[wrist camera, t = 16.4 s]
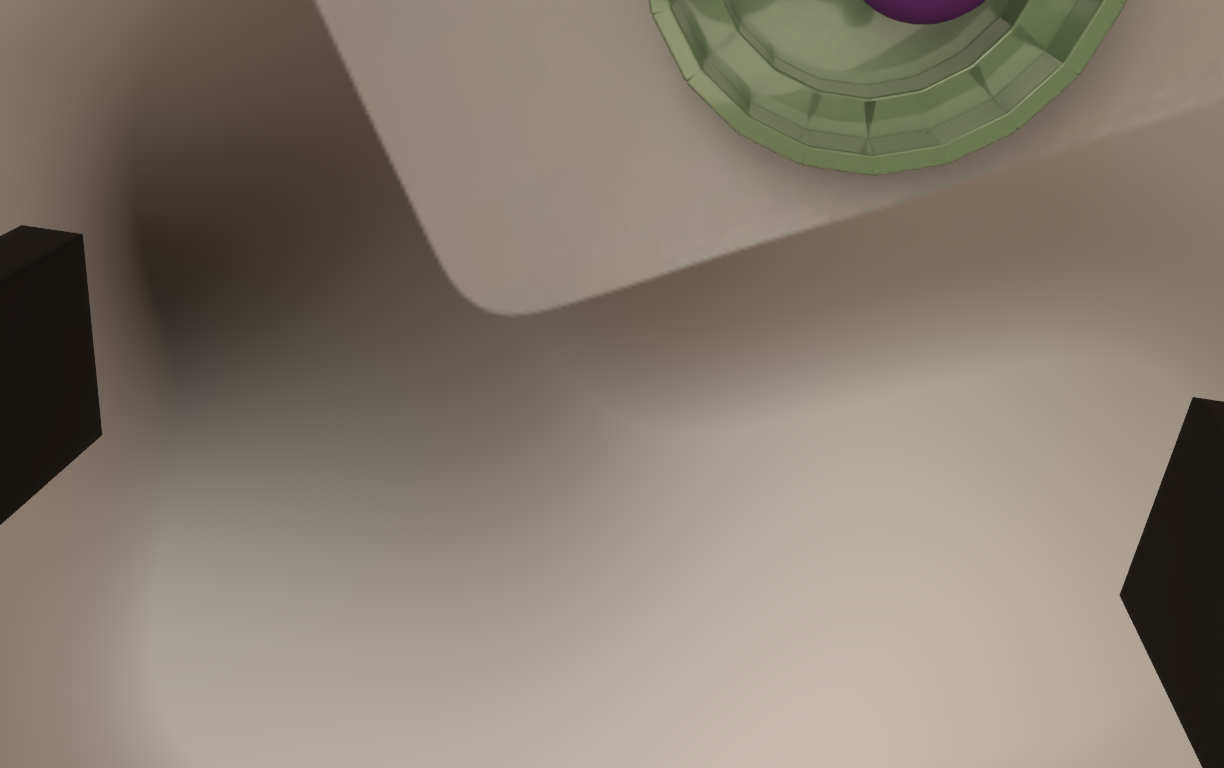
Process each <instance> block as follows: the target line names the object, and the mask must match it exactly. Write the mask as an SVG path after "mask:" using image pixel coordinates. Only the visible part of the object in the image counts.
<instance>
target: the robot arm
mask: <svg viewBox="0 0 1224 768" xmlns="http://www.w3.org/2000/svg"><path fill="white" fill-rule="evenodd" d="M101 435H102V429H101V418H100V408H99V398H98V387H97V377H96V367H95V356H94V346H93V337H92V326H91V315H90V305H89V295H88V284H87V274H86V264H85V254H84V243H83V235H82V234H77V233H70V232H64V231H57V230H50V229H44V228H37V227H30V226H23V225H22V226H19V227H18V228H15V229H14V230H12V231H9V232H8V233H6V234H4V235H2V236H0V525H1V524H2V523H3V522H4V521H5V520H6V519H7V518H9V517H10V516H11V515H12V514H13V513H14V512H15V511H17V510H18V509H19V508H20V507H21V506H22V505H23V504H25V503H26V502H27V501H28V500H29V499H30V498H31V497H32V496H34V495H35V494H36V493H37V492H38V491H39V490H40V489H42V488H43V487H44V486H45V485H46V484H47V483H48V482H49V481H51V480H52V479H53V478H54V477H55V476H56V475H57V474H58V473H60V472H61V471H62V470H63V469H64V468H65V467H66V466H67V465H69V464H70V463H71V462H72V461H73V460H74V459H75V458H77V457H78V456H79V455H80V454H81V453H82V452H83V451H84V450H86V449H87V447H89V446H90V445H91V444H92V443H94V442H95V441H96V440H97V439H98V438H99V437H100V436H101ZM1120 597H1121V599H1122V601H1123V603H1124V605H1125V608H1126V609H1127V612H1128V614H1129V616H1130V618H1131V620H1132V622H1133V624H1134V626H1135V628H1136V630H1137V632H1138V635H1139V637H1140V639H1141V641H1142V643H1143V645H1144V647H1145V649H1146V651H1147V653H1148V655H1149V657H1150V659H1151V662H1152V664H1153V666H1154V668H1155V670H1156V672H1157V674H1158V676H1159V678H1160V680H1161V682H1162V684H1163V687H1164V688H1165V691H1166V693H1167V695H1168V697H1169V699H1170V701H1171V703H1172V705H1173V707H1174V709H1175V711H1176V714H1177V716H1178V717H1179V720H1180V722H1181V724H1182V726H1183V728H1184V730H1185V732H1186V734H1187V737H1188V739H1189V741H1190V743H1191V745H1192V747H1193V749H1194V751H1195V753H1196V755H1197V757H1198V759H1199V761H1200V764H1201V766H1202V767H1203V768H1224V402H1222V401H1215V400H1208V399H1202V398H1195V397H1193V398H1192V401H1191V404H1190V406H1189V409H1188V412H1187V414H1186V417H1185V420H1184V423H1183V425H1182V428H1181V431H1180V433H1179V436H1178V439H1177V441H1176V444H1175V447H1174V450H1173V452H1172V455H1171V458H1170V461H1169V463H1168V466H1167V469H1166V471H1165V474H1164V477H1163V479H1162V482H1161V485H1160V488H1159V490H1158V493H1157V496H1156V498H1155V501H1154V504H1153V506H1152V509H1151V512H1150V514H1149V517H1148V520H1147V523H1146V525H1145V528H1144V531H1143V534H1142V536H1141V539H1140V542H1139V544H1138V547H1137V550H1136V552H1135V555H1134V558H1133V560H1132V563H1131V566H1130V569H1129V572H1128V574H1127V577H1126V580H1125V582H1124V585H1123V588H1122V590H1121V593H1120Z"/></svg>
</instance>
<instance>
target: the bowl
mask: <svg viewBox="0 0 1224 768" xmlns="http://www.w3.org/2000/svg"><path fill="white" fill-rule="evenodd" d="M1126 1H1127V0H986V1H985V2H983V3H982V4H981V5H980V6H978V7H977V8H975V9H974V10H972V11H970V12H968V13H966V14H964V15H962V16H960V17H958V18H956V19H953V20H950V21H946V22H942V23H937V24H924V25H915V24H908V23H903V22H899V21H896V20H893V19H890V18H888V17H886V16H884V15H882V14H880V13H878V12H877V11H875V10H874V9H873V8H872V7H870V6H869V5H868V4H867V3H865V2H864V1H863V0H649V4H650V10H651V13H652V14H653V15H652V16H653V19H654V21H655V23H656V25H657V27H658V29H659V31H660V33H661V35H662V37H663V39H664V41H665V43H666V44H667V46H668V48H669V50H670V52H671V54H672V56H673V58H674V60H675V62H676V64H677V66H678V68H679V70H680V72H681V74H682V76H683V78H684V80H686V81H687V84H688V85H689V86H690V87H691V88H692V89H693V90H694V91H695V92H696V93H697V94H698V95H699V96H700V97H701V98H702V99H703V100H704V101H705V102H706V103H707V104H708V105H709V106H710V107H711V108H712V109H713V110H714V111H715V112H716V113H717V114H718V115H719V116H720V117H721V118H722V119H723V120H724V121H725V122H726V123H727V124H728V125H729V126H730V127H731V128H732V129H733V130H734V131H735V132H738V134H740V135H742V136H744V137H746V138H748V139H750V140H752V141H754V142H756V143H758V144H760V145H762V146H764V147H766V148H768V149H770V150H772V151H774V152H776V153H778V154H780V155H782V156H784V157H786V158H788V159H790V160H792V161H794V162H796V163H798V164H802V165H804V166H811V167H818V168H824V169H831V170H838V171H844V172H851V173H858V174H864V175H872V174H873V175H874V176H875V175H881V174H888V173H894V172H900V171H907V170H913V169H920V168H926V167H933V166H939V165H945V164H946V163H947V164H948V163H950V162H953V161H955V160H957V159H959V158H961V157H963V156H965V155H967V154H969V153H972V152H974V151H976V150H978V149H980V148H982V147H984V146H986V145H988V144H991V143H993V142H995V141H997V140H999V139H1001V138H1003V137H1005V136H1007V135H1009V134H1012V133H1014V132H1016V131H1017V130H1018V129H1020V128H1021V127H1022V126H1023V125H1024V124H1025V123H1027V122H1028V121H1029V120H1030V119H1031V118H1032V117H1033V116H1035V115H1036V114H1037V113H1038V112H1039V111H1040V110H1041V109H1043V108H1044V107H1045V106H1046V105H1047V104H1048V103H1049V102H1050V101H1052V100H1053V99H1054V98H1055V97H1056V96H1057V95H1058V94H1060V93H1061V92H1062V91H1063V90H1064V89H1065V88H1066V87H1068V86H1069V85H1070V84H1071V83H1072V82H1073V81H1074V80H1075V79H1077V78H1078V75H1080V74H1081V72H1082V71H1083V69H1084V68H1085V66H1086V65H1087V63H1088V62H1089V60H1090V59H1091V57H1092V55H1093V54H1094V52H1095V51H1096V49H1097V48H1098V46H1099V45H1100V43H1101V42H1102V40H1103V39H1104V37H1105V35H1106V34H1107V32H1108V31H1109V29H1110V28H1111V26H1112V25H1113V23H1114V22H1115V20H1116V18H1117V17H1118V15H1119V14H1120V12H1121V11H1122V9H1123V8H1124V4H1125V3H1126Z"/></svg>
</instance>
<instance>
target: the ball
mask: <svg viewBox="0 0 1224 768" xmlns="http://www.w3.org/2000/svg"><path fill="white" fill-rule="evenodd" d="M863 1H864V2H865V3H867V4H868V5H869V6H870V7H872V8H873V9H874V10H875V11H877V12H878V13H880V14H882V15H884V16H886V17H888V18H890V19H893V20H896V21H899V22H903V23H908V24H915V25H924V24H937V23H942V22H946V21H950V20H953V19H956V18H958V17H960V16H962V15H964V14H966V13H968V12H970V11H972V10H974V9H975V8H977V7H978V6H980V5H981V4H982V3H983V2H985V1H986V0H863Z"/></svg>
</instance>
